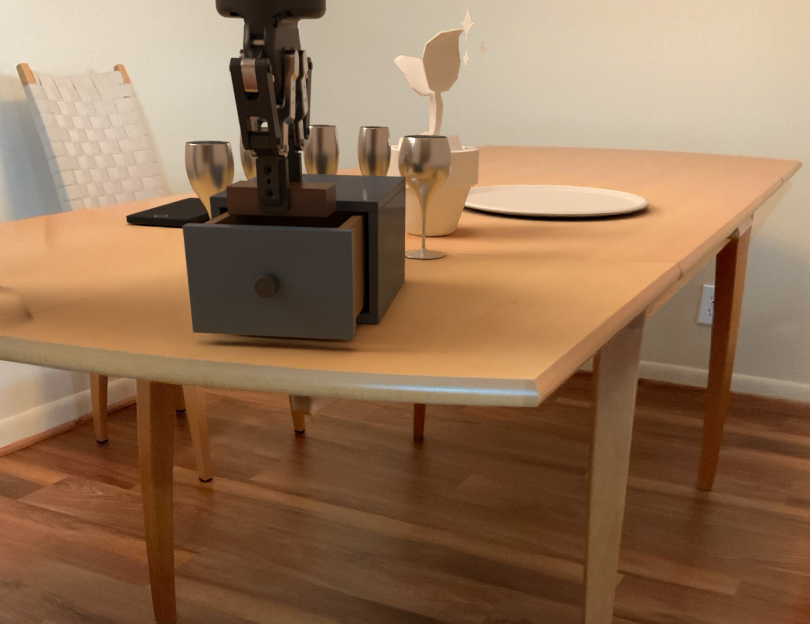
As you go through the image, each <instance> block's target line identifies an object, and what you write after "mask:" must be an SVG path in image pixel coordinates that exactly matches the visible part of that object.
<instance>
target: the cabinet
mask: <svg viewBox="0 0 810 624" xmlns="http://www.w3.org/2000/svg"><path fill="white" fill-rule="evenodd" d="M302 180H303V182H318V183H335V184H336V211H349V212H369V213H368V235H369V300H368V302H367V303H366V305H365V306H364V307H363V309H362V310H361V312H360V313H359V315H358V316H357V317H356V324H369V325H370V324H371V325H379V323H380V322H381V321H382V319H383V317H384V315H385V314H386V312H387V310H388V309H389V307H390V306H391V304H392V302H393V300H394V299H395V297H396V295H397V294H398V292H399V291H400V289H401V287H402V286H403V284H404V282H405V281H406V257H405V251H406V231H405V213H406V177H400V176H363V175H362V174H360V175H359V174H358V175H357V174H356V175H355V174H337V175H326V174H307V173H302ZM246 181H257V177H254V178H252V179H250V180H247V179H246ZM210 207H211V208H210V209H211V220H212V219H214V218H216V217H218V216H220V215H222V214H224V213H226V212H228V206H227V193H226V190H224V191H222V192H220V193H217V194H215V195H213V196H210Z"/></svg>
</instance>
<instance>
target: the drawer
mask: <svg viewBox="0 0 810 624" xmlns="http://www.w3.org/2000/svg"><path fill="white" fill-rule="evenodd" d="M368 213H369V212H349V211H335V212H333V213H332V214H331V215H329V216H328V217H327V218H315V217H283V216H250V215H228V212H226V213H224V214H222V215H220V216H218V217H216V218H214V219H212V220H210V219H209V220H208V221H206V222H204V223H188V224H186V225H183V226H182V227H181V228H182V237H183V246H184V257H185V265H186V276H187V277H186V278H187V285H188V295H189V304H190V305H189V306H190V316H191V325H192V333H196V334H214V335H215V334H216V335H233V336H234V335H235V336H237V335H238V336H258V337H278V338H279V337H281V338H296V339H297V338H298V339H299V338H300V339H320V340H321V339H322V340H342V341H354V339H355V338H356V336H357V323H356V317H357V316H358V315H359V313H360V312H361V310H362V309H363V307H364V306H365V305H366V303H367V302H368V300H369V235H368Z"/></svg>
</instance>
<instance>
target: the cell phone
mask: <svg viewBox="0 0 810 624" xmlns="http://www.w3.org/2000/svg"><path fill="white" fill-rule="evenodd" d="M125 219H126V223H127V224H133V225H151V226H164V227H165V226H166V227H167V226H168V227H181V228H183V227H182V226H183V225H186V224H188V223H197V224H200V223H202V222H204V221H207V220H208V221H209V220H210V216H209V214H208V211H207V209H206V207H205V206H204V204H203V203H202V201H201V200H200V199H199V197H187V198H183V199H179V200H175V201H173V202H169V203H166V204H161V205H158V206H155V207H151V208H148V209H144V210H141V211H137V212H134V213H130V214H128V215H126V216H125Z"/></svg>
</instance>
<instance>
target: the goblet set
mask: <svg viewBox="0 0 810 624" xmlns="http://www.w3.org/2000/svg"><path fill="white" fill-rule="evenodd" d="M239 131H240V130H239ZM261 131H268V126H261ZM403 137H404V138H403V141H402V144H401V147H400V151H399V156H398V168H399V172H400V175H401V177H406V184H407V185H408V186H409V187H410V188H411V189H412V191H413V192H414V193H415V195H416V196H417V198H418V200H419V203H420V207H421V213H422V236H421V248H419V249H411V250H405V258H409V259H413V260H415V259H416V260H435V259H440V258H443V257H445V253H444V252H442V251H439V250H432V249H427V248H426V236H425V227H426V214H427V209H428V205H429V202H430V200H431V198H432V196H433V195H434V193H435V192H436V191H437V190H438V189H439V188H440V187H441V186H442V184H443V183H444V182H445V181H446V180H447V178H448V177H449V175H450V172H451V169H452V154H451V149H450V145H449V141H448V138H447V137H446V136H438V135H418V134H410V135H409V134H408V135H404V136H403ZM391 140H392V139H391V133H390V128H389V126H384V125H383V126H382V125H381V126H380V125H364V126H363V125H362V126H360V127H359V130H358V137H357V161H358V166H359V170H360V174H361V175H363V176H387V173H388V170H389V166H390V161H391V145H392V141H391ZM340 151H341V150H340V139H339V133H338V128H337V125H335V124H310V135H309V139H308V140H305V146H304V150H303V151H302V155H303V162H304V167H305V171H306V174H326V175H338V170H339V165H340ZM233 153H234V152H233V149H232V143H231V142H230V141H227V140H226V141H225V140H192V141H186V142H185V145H184V166H185V171H186V175H187V179H188V182H189V184H190V186H191V188H192V190H193V192H194V194H196V196H197V198H199V199H200V200H201V201H202V203H203V204H204V206H205V207H206V209H207V211H208V214H209V216H210V219H209V221H210V220H211V209H210V208H211V207H210V196H213V195H215V194H217V193H220V192H222V191H224V190H226V186H229V185H231V184H233V183H234V177H235V158H234V154H233ZM239 158H240V163H241V166H242V170H243V173H244V175H245V178H246V181H247V180H250V179H252V178H254V177H257V176H256V160H255V159H256V158H258V157H252V155H251V151H250V150H245V149H244V147H243V144H242V137H241V131H240V133H239Z"/></svg>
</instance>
